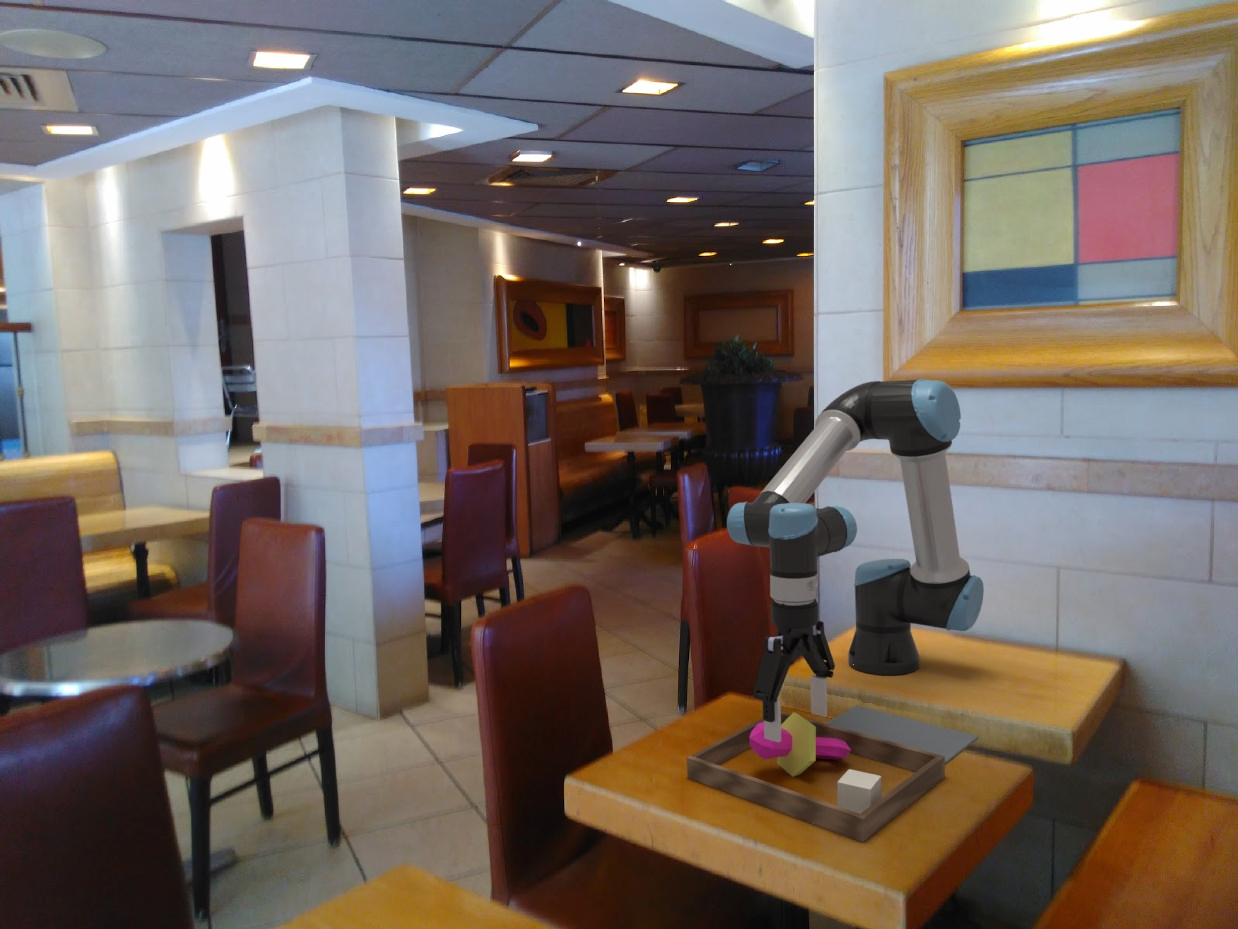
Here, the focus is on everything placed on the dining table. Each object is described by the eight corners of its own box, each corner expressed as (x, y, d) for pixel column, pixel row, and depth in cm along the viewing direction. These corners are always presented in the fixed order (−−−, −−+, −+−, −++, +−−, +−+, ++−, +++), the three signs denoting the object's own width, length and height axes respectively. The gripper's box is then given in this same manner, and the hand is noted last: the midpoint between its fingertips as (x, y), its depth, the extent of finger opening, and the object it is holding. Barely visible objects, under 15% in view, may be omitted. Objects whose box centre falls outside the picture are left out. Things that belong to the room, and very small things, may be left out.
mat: (805, 736, 163) (805, 734, 163) (856, 707, 176) (856, 705, 176) (932, 774, 146) (932, 771, 146) (978, 738, 159) (978, 736, 159)
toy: (861, 783, 146) (860, 717, 150) (764, 770, 140) (766, 702, 144) (825, 784, 155) (825, 721, 159) (733, 772, 149) (735, 708, 153)
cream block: (837, 814, 135) (837, 782, 134) (849, 800, 139) (849, 769, 138) (870, 822, 132) (870, 789, 131) (881, 807, 136) (881, 776, 136)
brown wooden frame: (687, 778, 149) (686, 757, 148) (777, 728, 167) (777, 710, 167) (863, 842, 126) (862, 818, 126) (944, 777, 145) (944, 756, 144)
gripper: (768, 620, 134) (771, 757, 136) (854, 588, 152) (856, 710, 154) (728, 612, 139) (732, 744, 141) (815, 582, 157) (817, 700, 159)
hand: (796, 727), depth 148 cm, fingers open, 13 cm apart
